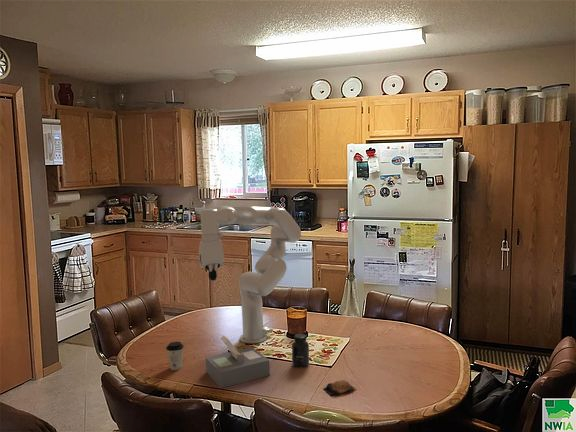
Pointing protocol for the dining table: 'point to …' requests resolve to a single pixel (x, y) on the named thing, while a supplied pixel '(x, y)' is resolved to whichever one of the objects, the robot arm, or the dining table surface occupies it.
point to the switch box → (237, 367)
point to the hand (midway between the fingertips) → (212, 279)
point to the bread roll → (339, 388)
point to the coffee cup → (175, 355)
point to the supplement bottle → (300, 351)
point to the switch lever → (230, 346)
